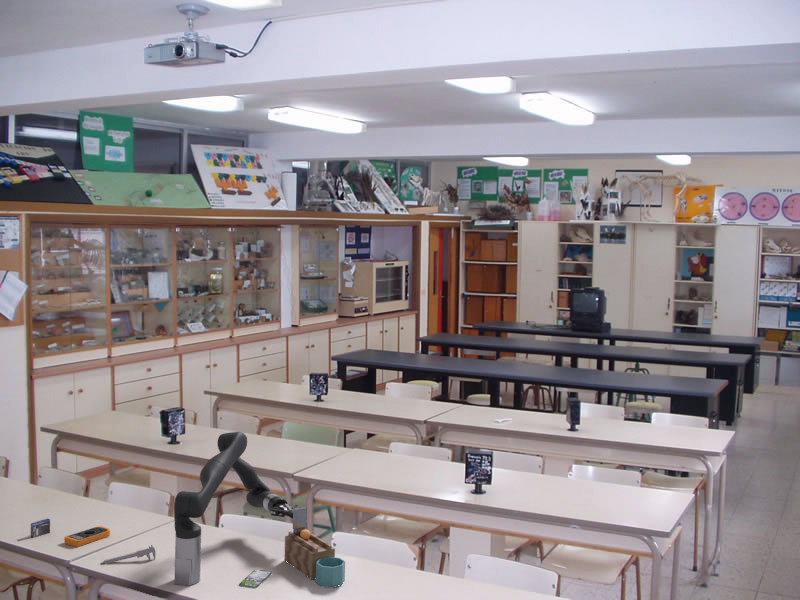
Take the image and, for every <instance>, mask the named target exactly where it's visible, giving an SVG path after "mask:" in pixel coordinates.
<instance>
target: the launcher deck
mask: <svg viewBox="0 0 800 600" xmlns="http://www.w3.org/2000/svg"><path fill="white" fill-rule="evenodd" d="M335 553H336V549H335V547H334V546H333V545H332V544H330V543H328V542H326V541H325V540H323V539H322V538H320V537H318V536H317V535H315V534H313V533H311V532H310V538H309V539H307V540H304V539H302V538H301V537H299V536H297V535H296V534H294V533H293V531H288V535H285V537H284V558H283V559H284V560H285V561H284V560H283V561H284V562H286V561H287V562H288V563H289V565H290V564H291V565H292V566H291V565H290V566H291V567H293V566H294V567H295V568H294V567H293V568H294V569H296V570H297V569H298V570H299V572H300V571H301V572H302V573H301V572H300V573H301V574H303V573H304V574H305V576H306V577H307V576H308V577H307V578H309V579H310V578H311V579H310V580H315V579H314V578H316V562H317V561H318V560H319V559H321V558H326V557H336V554H335ZM287 562H286V563H287ZM288 563H287V564H288ZM298 570H297V571H298ZM304 574H303V575H304Z"/></svg>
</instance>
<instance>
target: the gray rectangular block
mask: <svg viewBox="0 0 800 600" xmlns="http://www.w3.org/2000/svg"><path fill="white" fill-rule="evenodd" d="M292 529H293V530H292V532H293V533H294V534H296V535H297V536H299V537H301V536H300V533H301V531H302V530H305V529H306V530H308V529H307V507H305V506H301V507H298V508H294V509H293V519H292Z"/></svg>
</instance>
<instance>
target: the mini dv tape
mask: <svg viewBox="0 0 800 600" xmlns="http://www.w3.org/2000/svg"><path fill="white" fill-rule="evenodd" d="M50 533H51V518H45V519H41V520H38V521H34V522H31V523H30V538H32V539H33V538H34V539H35V538H38V537H41V536H44V535H47V534H50Z"/></svg>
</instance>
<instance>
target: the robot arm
mask: <svg viewBox="0 0 800 600" xmlns="http://www.w3.org/2000/svg"><path fill="white" fill-rule="evenodd" d="M216 443H217V448H218V450H219V453H218V454H216V455H214V456H212V457H211V458H210V459H209V460H207V462H206V463H205V464H204V466H203V467H202V469H201V471H200V473H199V480H200V483H201V486H202V489H201V490H200V491H199V492H198V491H197V492H196V491H186V490H185V491H183V490H182V491H179V492H177V494H176V496H175V499H174V503H173V504H174V505H173V512H174V513H173V515H174V516H173V517H174V518H173V519H174V532H175V538H174V539H175V542H174V543H175V544H174V551H175V552H174V585H180V586H191V585H193V584H197V583H199V582H200V581H201V561H202V560H201V559H202V557H201V556H202V555H201V553H202V550H201V549H202V527H201V526H200V525H199V524H198V523H196V522H194V521H193V520H192V519H198V518H201V517H202V516H203V515H204V514H205V512H206V511H207V509H208V507H209V504H210V502H211V500H212V498H213V496H214V495H215V493H216V492H217V490H218V488H219V486H221V484H222V482H223V481H224V479H225V478H226V476H227V475H228V473H229V472H230V470H231V468H232V469H233V471H235V472H236V474H237V475H238V477H239V479H240V481H241V483H242V484H243V487H244V488H245V489H246V490H249V492H247V494H246V498H245V500H246V502H247V503H248V504H249V505H250V506H251V507H254V508H263V509H265V510H266V511H267V512H269V513H270V516H273V517H281V518H284V517H287V518H288V517H289V518H290V519H292V520H293V509H294V508H299V504H295V505H293V506H292V505H291V504H289V503H288V501H287V500H286V499H285V498H284V497H281V496H280V495H278V494H274V493H272V492H271V490H270V488H269V486H268V485H267V484H265V483H264V482H263V481H262V480H261V478H260V477H259V476H258V473H257V472H256V470H255V468H254V467H253V466H252V465H251V464H250V463H249V462H247V461H246V460H244V459H243V458H241V456H242V455H243V454H244V452H245V451H246V449H247V446H248V437H247V435H246V434H245V433H244V432H242V431H233V432H225V433H221V434H220V435H219V436H218V438H217V442H216Z"/></svg>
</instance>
